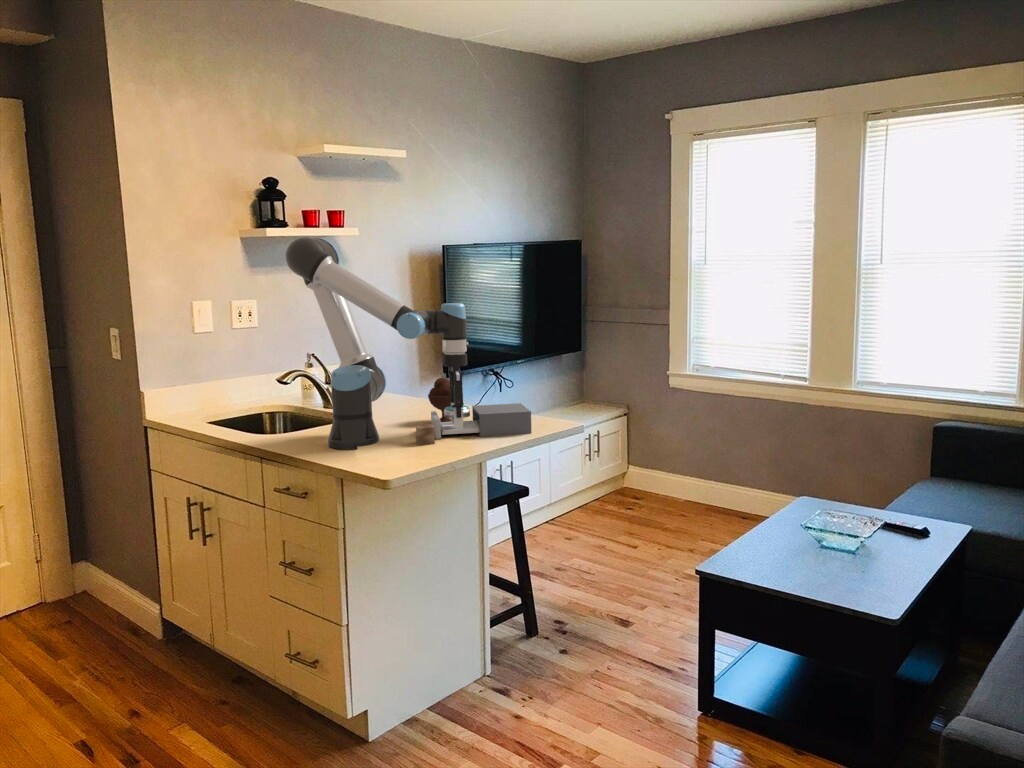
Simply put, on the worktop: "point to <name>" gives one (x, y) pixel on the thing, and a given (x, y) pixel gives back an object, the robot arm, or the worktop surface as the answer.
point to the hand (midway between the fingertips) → (457, 425)
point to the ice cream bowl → (441, 396)
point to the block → (425, 434)
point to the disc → (450, 412)
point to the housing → (502, 419)
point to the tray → (452, 426)
